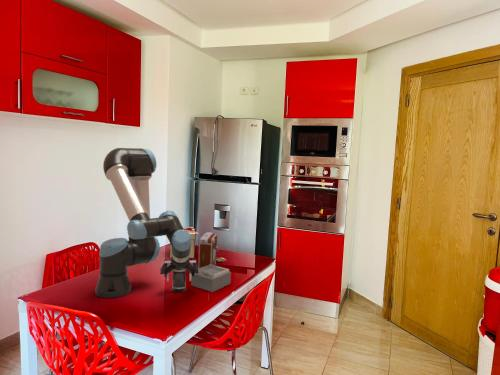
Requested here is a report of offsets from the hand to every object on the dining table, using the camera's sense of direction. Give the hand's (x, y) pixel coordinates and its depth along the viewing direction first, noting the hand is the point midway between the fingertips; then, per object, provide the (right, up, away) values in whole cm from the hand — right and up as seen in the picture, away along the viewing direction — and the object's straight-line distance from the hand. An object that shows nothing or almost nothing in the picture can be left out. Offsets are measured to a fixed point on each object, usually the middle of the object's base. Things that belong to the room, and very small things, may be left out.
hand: (179, 278), depth 176 cm
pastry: (+14, -1, +44) cm, 46 cm away
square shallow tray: (+14, -4, +6) cm, 16 cm away
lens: (0, -5, -3) cm, 5 cm away
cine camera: (+11, -2, +28) cm, 30 cm away
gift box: (-7, +1, +53) cm, 53 cm away
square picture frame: (+15, +1, +6) cm, 16 cm away
